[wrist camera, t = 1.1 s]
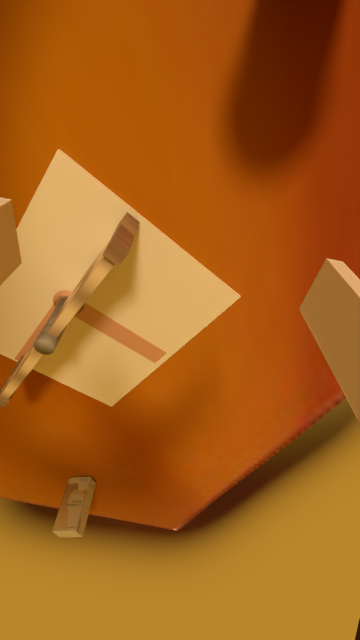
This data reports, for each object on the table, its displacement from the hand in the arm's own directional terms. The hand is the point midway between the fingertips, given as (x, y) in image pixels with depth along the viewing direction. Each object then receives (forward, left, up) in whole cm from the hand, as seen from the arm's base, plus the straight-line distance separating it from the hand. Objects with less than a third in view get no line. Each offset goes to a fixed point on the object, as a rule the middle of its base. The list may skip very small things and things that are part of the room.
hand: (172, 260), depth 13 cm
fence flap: (0, -16, -23) cm, 28 cm away
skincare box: (+29, -75, -24) cm, 84 cm away
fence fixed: (0, -32, -23) cm, 40 cm away
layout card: (+4, -24, -24) cm, 34 cm away
